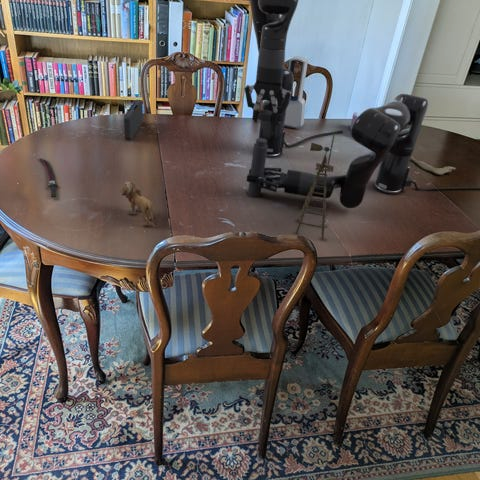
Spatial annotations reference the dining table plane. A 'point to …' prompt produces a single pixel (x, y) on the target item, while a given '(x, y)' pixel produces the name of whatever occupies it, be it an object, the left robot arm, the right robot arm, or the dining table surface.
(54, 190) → the sword
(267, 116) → the lid
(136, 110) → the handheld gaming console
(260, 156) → the dark grey cylinder
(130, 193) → the lion figurine
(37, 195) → the dining table surface
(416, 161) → the jawbone
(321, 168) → the miniature windmill
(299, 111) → the electronic device
